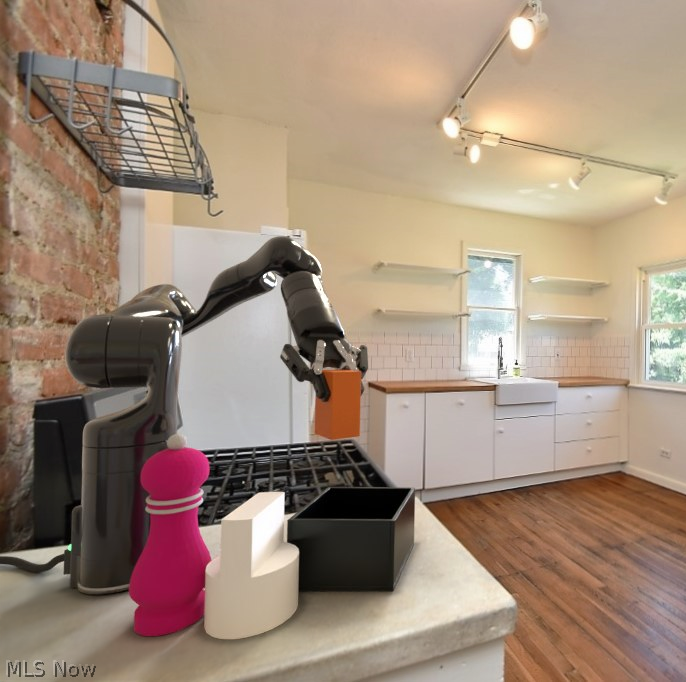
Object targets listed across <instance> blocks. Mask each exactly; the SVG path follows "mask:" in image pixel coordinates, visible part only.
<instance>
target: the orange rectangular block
mask: <svg viewBox="0 0 686 682" xmlns="http://www.w3.org/2000/svg"><path fill="white" fill-rule="evenodd" d="M322 375H325V378H326V380H327V383H328V386H329V389H330V391H331V395H330V398H329V400H328V402H322V400H321V399H319V398H318V397H317V396H316V395H315V398H314V399H315V400H314V401H315V403H314V434H315V435H317V436H319V437H323V438H325V439H328V440H330V441H335V440H343V439H350V438H358V437H361V397H362V395H361V381H362V380H361V371H353V370H335V369H323V371H322Z"/></svg>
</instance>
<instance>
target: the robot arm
mask: <svg viewBox="0 0 686 682" xmlns="http://www.w3.org/2000/svg"><path fill="white" fill-rule="evenodd" d="M277 276H279V277H280V278H282V281H281V283H280V294H281V297H282V299H283V302H284V306H285V308H286V315H287V316H286V317H287V320H288V323H289V326H290V329H291V331H292V335H293V336H294V340H295V344H296V345H292V344H291V343H285V344H284V345H283V348H282V350H281V353H280V356H279V358H280V360H281V361H282V362H283V363H284V365H285V366H286V368H287V369H288V371H290V373H291V375H292V376H293V377H294V378H295V380H296V381H297V382H298V383H304V382H309V383H310V384H311V385H312V387H313V390H314V393H315V396H317V397H318V398H319V399H321V400H322V402H328V400H329V398H330V395H331V391H330V389H329V386H328V383H327V380H326V378H325V375H322V371H323V370H324V369H327V368H332V369H334V370H353V371H361V396H363V394H364V392H365V386H364V383H363V379H364V377H365V376H366V374H367V372H368V370H369V355H368V347H367V345H365V344H361V345H360V346H359V347H355V346H351V343H350V342H349V341H347V340H346V337H345V332H344V329H343V327H342V324H341V321H340V319H339V317H338V315H337V312H336V309H335V308H334V305H333V303H332V302H331V300H330V299H329V297H328V294H327V293H326V290H325V287H324V285H323V268H322V265H321V263H320V261H319V260H318V258H317V257H316V256H315V255H314V254H312V253H311V252H310V251H309V250H307V249H306V248H305V247H303V246H302V245H301V244H299V242H296V241H295V240H294V239H293V238H291V237H289V236H287V235H286V236H285V235H278V236H274V237H272V238H269V239H268V240H267V241H266V242H265V243H264V244H263V245H262V246H261V247H260V248H259V249H257V251H255V252H254V253H253V254H252V255H251V256H250V257H249V258H247V259H246V260H244V261H242V262H240V263H239V262H238V263H237V264H234V265H233V266H231V267H229V268H226V269H224V270H222V271H220V273H218V274H217V275H216V277H215V278H214V279H213V281H212V282H211V284H210V286H209V289H208V291H207V293H206V296H205V299H204V301H203V303H202V304H201V306H200V307H199V308H198V310H196V308H195V307H194V306H193V304H192V303H191V302H190V301H189V300H188V298H187V297H186V295H184V294H183V292H182V291H181V290H180V289H179V288H178V287H177V286H176V285H173V284H171V283H162V284H156V285H152V286H151V287H148V288H145V289H143V290H142V291H140V292H138V293H137V294H136V295H134V296H133V297H132V298H131V299H130V300H128V301H126V302H125V303H123V304H121V305H120V306H119V307H117V308H115V309H113V310H111V311H109V312H107V313H102V314H93V315H88V316H87V317H84V318H83V319H81V320H80V321H78V323H76V325H75V326H74V328H73V329H72V331H71V333H70V334H69V337H68V339H67V341H66V346H65V351H64V352H65V353H64V359H65V365H66V369H67V370H68V372H69V374H70V376H71V378H73V379H74V380H75V381H76V382H77V383H79V384H80V385H82V386H85V387H89V388H94V389H95V388H96V389H129V388H131V389H132V388H147V394H146V396H144V398H142V399H141V400H139V401H138V402H136V403H134V404H133V405H131V406H129V407H126V408H124V409H121V410H119V411H115V412H112V413H109V414H105V415H102V416H98V417H96V418H93V419H91V420H90V421H88V422H87V423H85V425H84V427H83V430H82V453H81V454H82V455H81V490H80V492H81V493H80V505H77V506H74V508H73V509H72V511H71V535H70V544H69V545H68V548H66V549H64V550H63V553H61V554H59V555H56V556H54V557H53V558H51V559H50V560H49V561H48V562H46V563H40V564H39V563H34V562H31V561H28V560H26V559H24V558H20V557H16V556H9V555H0V565H7V566H12V567H16V568H18V569H19V568H20V569H21V570H24V571H27V572H30V573H43V572H47V571H50V570H52V569H53V568H54V567H56V566H57V565H58V564H61V563H63V575H69V588H75V589H76V588H77V590H78V591H79V592H80V593H82V594H86V595H105V594H113V593H120V592H125V591H129V586H130V579H131V576H132V573H133V570H134V567H135V565H136V564H137V562H138V560H139V558H140V556H141V554H142V552H143V550H144V547H145V545H146V543H147V540H148V536H149V532H150V525H151V519H150V513H148V512H147V511H146V510H145V508H146V506H147V502H146V498H147V497H148V496H150V493H149V492H147V491H146V490H145V489H144V488H143V486H142V485H141V478H140V476H141V471H142V468H143V466H144V464H145V463H146V461H147V460H148V459H149V458H150V457H152V456H153V455H155V454H156V453H158V452H160V451H163V450H166V449H170V448H169V447H168V445H167V441H168V439H169V438H170V437H171V436H172V435H174V434H178V401H179V400H178V399H179V398H178V396H179V383H180V374H181V373H180V372H181V362H182V353H183V352H182V350H183V338H184V337H185V336H187V335H189V334H192V333H193V332H194V331H197V330H198V329H200V328H202V327H203V326H205V325H207V324H209V323H211V322H213V321H214V320H217V319H218V318H220V317H221V316H223V315H224V314H226V313H227V312H229V311H230V310H233V309H234V308H237V307H238V306H240V305H242V304H244V303H247V302H249V301H251V300H254V299H256V298H258V297H261V296H263V295H266V294H268V293H270V292H271V291H273V290H274V289H275V288H276V286H277V284H278V278H277ZM304 359H305V360H306V361H307V362H309V366H308V364H307V363H306V362H305V360H304ZM353 361H354V362H355V363H354V362H353Z"/></svg>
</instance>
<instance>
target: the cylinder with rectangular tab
mask: <svg viewBox="0 0 686 682" xmlns="http://www.w3.org/2000/svg"><path fill="white" fill-rule="evenodd" d="M285 494H286V493H285V491H264V492H263V491H261V492H257V493H256V494H254V495H253V496H252V497H251V498H249V499H248V500H246V501H245V502H243V503H242V504H241V505H240V506H238V507H237V508H235V509H234V510H232V511H231V512H230V513H228V514H227V515H225V516H224V517H223V518H221V521H220V553H219V555H218V554H217V556H216V557H214V558H212V559H211V561H210V562H209V564H208V565H207V567H206V573H205V587H204V591H205V613H204V614H203V617H204V619H203V620H204V621H203V622H204V623H203V628H204V631H205V633H206V634H207V635H209V636H210V637H212V638H215V639H219V640H239V639H247V638H251V637H254V636H257V635H261V634H263V633H266V632H268V631H271V630H273V629H275V628H277V627H279V626H280V625H282V624H283V623H285V622H286V621H288V620H289V619H291V617H292V616H293V615H294V614H295V612H296V611H297V609H298V606H299V591H298V580H299V549H298V548H297V547H296V546H295V545H293V544H290V543H287V541H285V542H284V540H285V539H284V538H285V537H284V535H285V497H286V495H285Z"/></svg>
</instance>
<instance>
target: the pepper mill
mask: <svg viewBox="0 0 686 682" xmlns="http://www.w3.org/2000/svg"><path fill="white" fill-rule="evenodd" d="M187 444H188V438H187V436H186V435H184V434H183V433H177V434H174V435H172V436H171V437H170V438H169V439H168V441H167V445H168V447H169V448H170V449H166V450H163V451H160V452H158V453H156V454H155V455H153V456H152V457H150V458H149V459H148V460H147V461H146V463H145V464H144V466H143V468H142V471H141V476H140V478H141V485H142V486H143V488H144V489H145V490H146V491H147V492H149V493H150V496H148V497H147V498H146V502H147V506H146V508H145V510H146V511H147V512H148V513H150V519H151V525H150V532H149V536H148V540H147V543H146V545H145V547H144V550H143V552H142V554H141V556H140V558H139V560H138V562H137V564H136V565H135V567H134V570H133V573H132V576H131V579H130V586H129V590H128V595H129V597H130V600H131V601H133V602H134V603H135V604H137V605H138V606H137V607H136V608H135V610H134V614H133V631H134V632H135V633H136V634H137V635H139V636H143V637H158V636H165V635H170V634H173V633H175V632H179V631H181V630H183V629H185V628H187V627H189V626H191V625H193V624H195V623H196V622H197V621H199V620H200V619H201V618H202V617H204V614H205V573H206V567H207V565H208V564H209V562H210V561H211V560H212V557H211V553H210V551H209V549H208V547H207V545H206V543H205V541H204V539H203V537H202V534H201V531H200V527H199V519H198V515H199V506H201V505H202V504H203V503H204V498H203V495H204V493H205V492H204V490H203V489H202V488H201V486H202V485H203V484H204V483H205V482H206V481H207V479H208V478H209V475H210V461H209V459H208V457H207V455H206V454H204V453H203V452H202V451H201V450H200V449H197V448H193V447H187Z"/></svg>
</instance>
